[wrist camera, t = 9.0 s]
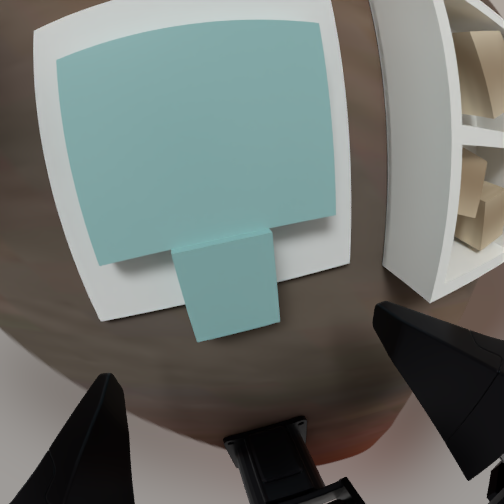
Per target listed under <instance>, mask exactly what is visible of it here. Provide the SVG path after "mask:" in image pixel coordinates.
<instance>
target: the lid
mask: <svg viewBox="0 0 504 504" xmlns="http://www.w3.org/2000/svg"><path fill="white" fill-rule="evenodd" d="M56 65H57V81H58V92H59V102H60V110H61V117H62V124H63V131H64V137H65V142H66V148H67V153H68V158H69V163H70V168H71V172H72V177H73V181H74V185H75V189H76V193H77V197H78V201H79V204H80V208H81V211H82V215H83V218H84V222H85V225H86V228H87V231H88V235H89V238H90V241H91V244H92V247H93V250H94V253H95V255H96V258H97V261H98V264H99V266H102V265H107V264H111V263H115V262H119V261H124V260H128V259H132V258H136V257H141V256H145V255H149V254H154V253H158V252H163V251H167V250H171V255H172V259H173V263H174V266H175V270H176V274H177V277H178V281H179V284H180V288H181V291H182V295H183V298H184V301H185V305H186V308H187V311H188V315H189V318H190V321H191V324H192V327H193V331H194V334H195V337H196V340H197V342H201V341H205V340H210V339H214V338H219V337H223V336H227V335H231V334H235V333H239V332H243V331H247V330H251V329H255V328H259V327H262V326H266V325H270V324H273V323H277V322H280V314H279V301H278V289H277V278H276V267H275V256H274V245H273V234H272V231H271V230H270V229H269V228H274V227H279V226H283V225H288V224H293V223H298V222H303V221H308V220H313V219H318V218H323V217H329V216H334V215H336V190H335V165H334V147H333V132H332V120H331V109H330V99H329V89H328V81H327V73H326V65H325V58H324V51H323V44H322V38H321V32H320V26H319V23H315V22H304V21H290V20H229V21H214V22H204V23H195V24H187V25H180V26H174V27H168V28H162V29H157V30H152V31H147V32H142V33H138V34H134V35H130V36H126V37H122V38H118V39H115V40H111V41H108V42H105V43H101V44H98V45H95V46H92V47H89V48H86V49H83V50H81V51H78V52H75V53H73V54H70V55H67V56H65V57H62V58H60V59H58V60H56Z"/></svg>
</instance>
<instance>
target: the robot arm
mask: <svg viewBox="0 0 504 504" xmlns="http://www.w3.org/2000/svg"><path fill="white" fill-rule="evenodd" d="M372 323H373V328H374V330H375V331H376V333H377V335H378V337H379V339H380V340H381V342H382V344H383V346H384V348H385V350H386V351H387V353H388V355H389V357H390V359H391V360H392V362H393V363H394V365H395V366H396V368H397V369H398V371H399V372H400V374H401V375H402V377H403V378H404V380H405V381H406V382H407V384H408V385H409V387H410V388H411V390H412V391H413V393H414V394H415V396H416V397H417V399H418V400H419V402H420V404H421V405H422V407H423V408H424V410H425V411H426V413H427V414H428V416H429V417H430V419H431V421H432V422H433V424H434V425H435V427H436V429H437V430H438V432H439V433H440V435H441V436H442V438H443V440H444V441H445V443H446V445H447V447H448V448H449V450H450V452H451V453H452V455H453V457H454V458H455V460H456V462H457V463H458V465H459V467H460V468H461V470H462V472H463V474H464V475H465V477H466V479H467V480H468V481H469V480H471V479H472V478H474V477H475V476H476V475H478V474H479V473H480V472H482V471H483V470H484V469H486V468H487V467H488V466H489V465H491V464H492V463H493V462H494V461H496V460H497V459H498V458H500V459H501V461H500V462H499V463H498V464H497V465H496V466H495V468H494V469H493V470H492V471H491V475H490V482H489V487H488V493H487V498H488V500H489V501H490V502H489V503H488V504H504V340H500V339H496V338H492V337H489V336H486V335H483V334H480V333H477V332H474V331H471V330H470V331H469V330H468V329H465V328H462V327H460V326H457V325H454V324H451V323H448V322H445V321H442V320H440V319H437V318H434V317H431V316H428V315H425V314H423V313H420V312H417V311H414V310H411V309H408V308H405V307H403V306H400V305H397V304H394V303H391V302H388V301H383V302H381V303H378V304H376V306H375V309H374V316H373V322H372ZM306 430H307V420H306V418H305V417H304V416H300V417H297V418H294V419H291V420H288V421H285V422H281V423H278V424H275V425H271V426H268V427H265V428H261V429H257V430H254V431H250V432H246V433H242V434H238V435H233V436H229V437H226V438H224V439H223V442H224V445H225V447H226V449H227V451H228V453H229V455H230V457H231V459H232V461H233V463H234V464H235V466H236V467H237V468H239V470H240V474H241V477H242V480H243V484H244V487H245V490H246V493H247V496H248V499H249V503H250V504H323V503H326V502H328V501H331V500H333V499H337V500H334V501H332V502H329V503H327V504H365V502H364V501H363V500H362V498H361V497H360V495H359V494H358V493H357V491H356V490H355V488H354V487H353V485H352V484H351V482H350V481H349V480H348V478H347V477H344V478H342V479H340V480H339V481H337V482H335V483H333V484H330V485H328V486H325V484H324V482H323V480H322V478H321V476H320V474H319V472H318V470H317V468H316V466H315V464H314V461H313V459H312V457H311V455H310V453H309V451H308V449H307V447H306ZM9 504H135V502H134V494H133V484H132V473H131V461H130V442H129V431H128V423H127V416H126V408H125V399H124V392H123V389H122V387H121V386H120V384H119V383H118V381H117V380H116V378H115V377H114V375H113V374H112V373H103V374H100V375H99V376H98V377H97V378H96V380H95V381H94V383H93V384H92V385H91V387H90V388H89V390H88V391H87V393H86V394H85V396H84V397H83V398H82V400H81V401H80V403H79V404H78V406H77V407H76V409H75V410H74V412H73V413H72V414H71V416H70V417H69V419H68V420H67V422H66V424H65V425H64V427H63V428H62V430H61V431H60V433H59V434H58V436H57V437H56V439H55V440H54V442H53V443H52V445H51V447H50V448H49V451H47V453H46V454H45V456H44V457H43V459H42V460H41V462H40V464H39V465H38V467H37V468H36V470H35V471H34V472H33V474H32V475H31V476H30V478H29V479H28V480H27V482H26V483H25V484H24V486H23V487H22V488H21V490H20V491H19V492H18V494H17V495H16V496H15V498H14V499H13V500H12V502H11V503H9Z"/></svg>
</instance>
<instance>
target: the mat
mask: <svg viewBox="0 0 504 504" xmlns="http://www.w3.org/2000/svg"><path fill="white" fill-rule="evenodd" d="M229 20H290V21H304V22H315V23H319V26H320V32H321V38H322V44H323V51H324V58H325V65H326V73H327V81H328V89H329V99H330V109H331V120H332V132H333V147H334V165H335V190H336V215H334V216H329V217H323V218H318V219H313V220H308V221H303V222H298V223H293V224H288V225H283V226H279V227H274V228H269V229H270V230H271V231H272V234H273V245H274V256H275V267H276V278H277V282H281V281H285V280H289V279H292V278H296V277H300V276H304V275H308V274H312V273H315V272H319V271H323V270H326V269H330V268H334V267H337V266H341V265H345V264H348V263H350V242H351V168H350V145H349V128H348V115H347V104H346V94H345V85H344V76H343V68H342V61H341V54H340V48H339V41H338V35H337V30H336V24H335V19H334V14H333V9H332V4H331V0H112V1H109V2H106V3H102V4H99V5H96V6H93V7H90V8H87V9H84V10H81V11H79V12H76V13H73V14H71V15H68V16H66V17H63V18H61V19H59V20H56V21H54V22H52V23H50V24H47V25H45V26H43V27H41V28H39V29H37V30H35V31H34V46H33V56H34V83H35V96H36V106H37V115H38V122H39V129H40V136H41V142H42V147H43V152H44V158H45V162H46V167H47V172H48V176H49V180H50V184H51V188H52V192H53V196H54V200H55V203H56V207H57V210H58V214H59V217H60V220H61V224H62V227H63V230H64V233H65V236H66V239H67V242H68V245H69V247H70V250H71V253H72V256H73V258H74V261H75V264H76V266H77V269H78V271H79V274H80V276H81V279H82V281H83V284H84V286H85V288H86V291H87V293H88V295H89V297H90V300H91V302H92V304H93V306H94V308H95V311H96V313H97V315H98V317H99V319H100V321H106V320H112V319H117V318H122V317H127V316H132V315H137V314H142V313H147V312H151V311H156V310H161V309H166V308H170V307H175V306H179V305H184V304H185V301H184V298H183V295H182V291H181V288H180V284H179V281H178V277H177V274H176V270H175V266H174V263H173V259H172V255H171V250H167V251H163V252H158V253H154V254H149V255H145V256H141V257H136V258H132V259H128V260H124V261H119V262H115V263H111V264H107V265H102V266H99V264H98V261H97V258H96V255H95V253H94V250H93V247H92V244H91V241H90V238H89V235H88V231H87V228H86V225H85V222H84V218H83V215H82V211H81V208H80V204H79V201H78V197H77V193H76V189H75V185H74V181H73V177H72V172H71V168H70V163H69V158H68V153H67V148H66V142H65V137H64V131H63V124H62V117H61V110H60V102H59V92H58V81H57V65H56V60H58V59H60V58H62V57H65V56H67V55H70V54H73V53H75V52H78V51H81V50H83V49H86V48H89V47H92V46H95V45H98V44H101V43H105V42H108V41H111V40H115V39H118V38H122V37H126V36H130V35H134V34H138V33H142V32H147V31H152V30H157V29H162V28H168V27H174V26H180V25H187V24H195V23H204V22H214V21H229Z"/></svg>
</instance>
